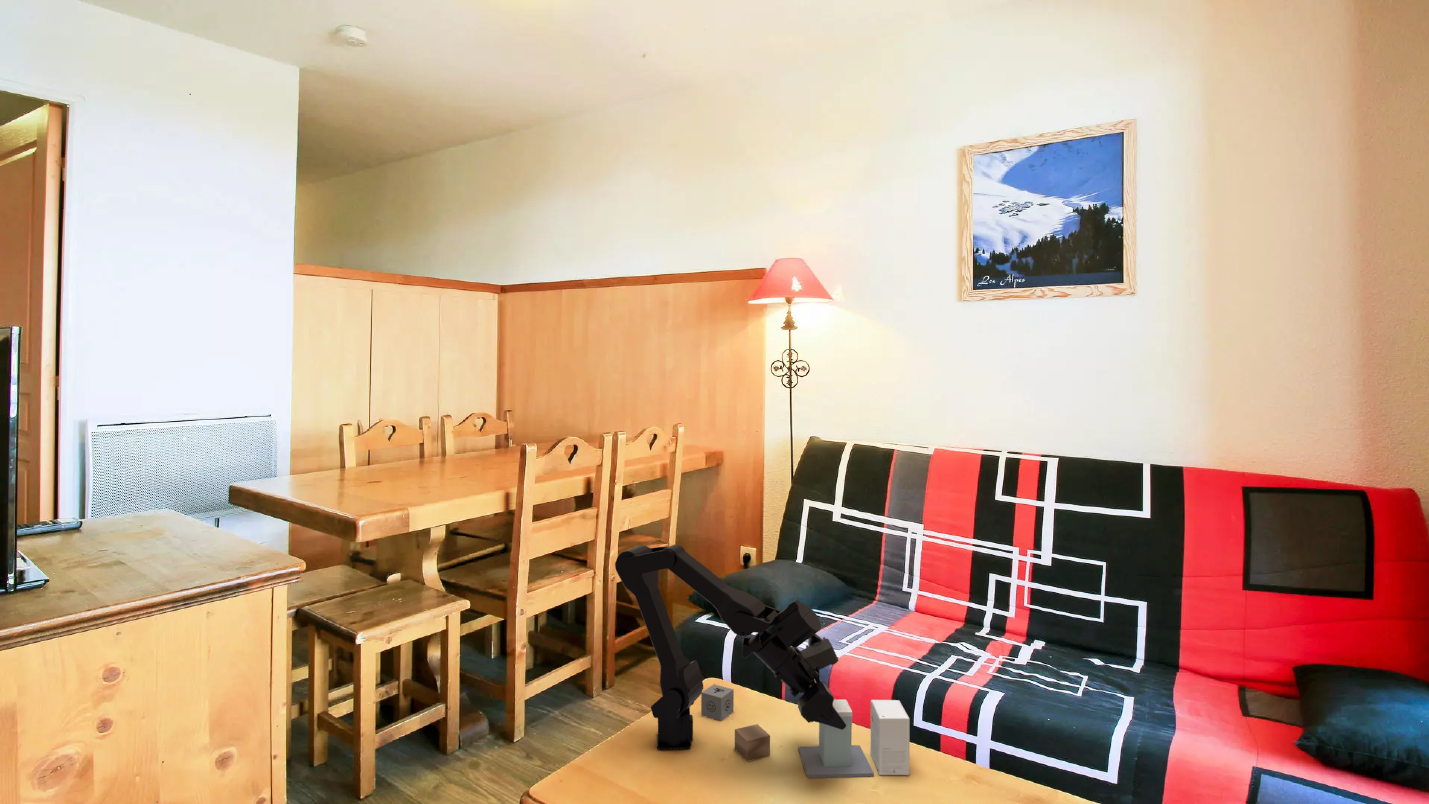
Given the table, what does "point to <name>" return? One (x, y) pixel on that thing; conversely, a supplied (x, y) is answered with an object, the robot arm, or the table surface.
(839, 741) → the tea tin
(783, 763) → the table surface
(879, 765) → the small box
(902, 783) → the table surface
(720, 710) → the dice cube
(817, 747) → the felt coaster
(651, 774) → the table surface
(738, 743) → the walnut block
